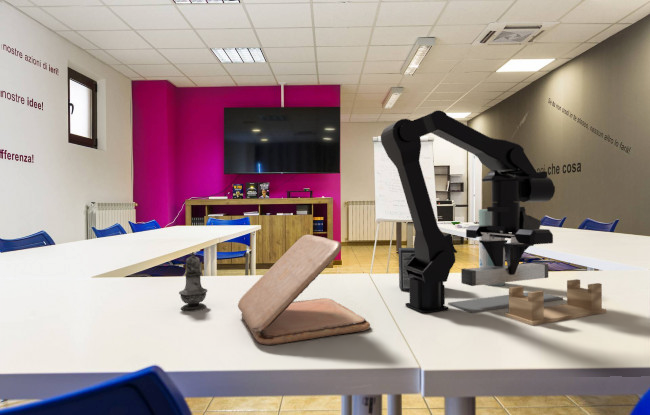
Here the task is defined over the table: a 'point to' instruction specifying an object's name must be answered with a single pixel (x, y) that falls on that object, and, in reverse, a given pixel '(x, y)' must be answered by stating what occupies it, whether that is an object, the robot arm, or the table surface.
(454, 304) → the mat
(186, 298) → the salt shaker
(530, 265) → the rail
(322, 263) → the case
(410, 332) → the table surface
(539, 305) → the cradle stand
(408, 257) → the small box
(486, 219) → the spray paint can
